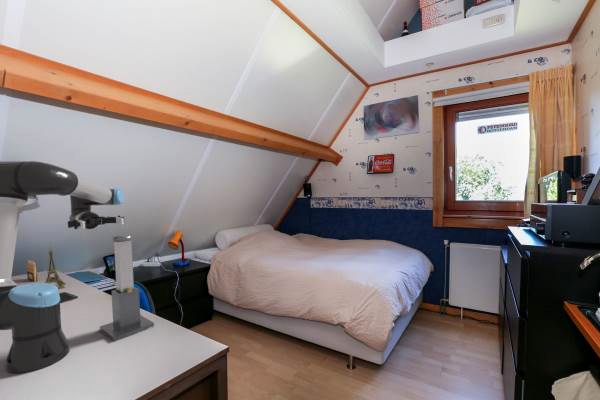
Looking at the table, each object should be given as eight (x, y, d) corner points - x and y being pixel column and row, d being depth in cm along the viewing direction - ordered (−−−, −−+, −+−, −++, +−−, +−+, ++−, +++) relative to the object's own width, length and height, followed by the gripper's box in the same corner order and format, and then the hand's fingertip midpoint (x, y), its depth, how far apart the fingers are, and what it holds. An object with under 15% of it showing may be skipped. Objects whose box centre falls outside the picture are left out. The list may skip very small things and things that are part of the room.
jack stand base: (154, 326, 115) (152, 286, 114) (113, 341, 104) (111, 297, 104) (138, 317, 124) (136, 279, 123) (99, 330, 113) (97, 289, 112)
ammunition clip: (37, 281, 179) (36, 261, 178) (33, 281, 177) (32, 262, 177) (31, 278, 185) (30, 259, 184) (27, 279, 183) (26, 259, 183)
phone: (64, 291, 156) (78, 296, 148) (64, 294, 156) (78, 298, 148) (45, 296, 149) (59, 301, 142) (46, 299, 149) (59, 304, 142)
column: (138, 307, 114) (135, 235, 113) (120, 312, 109) (116, 238, 108) (131, 303, 118) (128, 234, 117) (113, 308, 113) (109, 236, 112)
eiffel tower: (39, 292, 158) (36, 245, 157) (41, 287, 167) (38, 243, 166) (64, 288, 164) (61, 243, 163) (65, 283, 173) (63, 240, 172)
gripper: (119, 225, 143) (137, 228, 129) (52, 232, 124) (66, 236, 110) (118, 209, 143) (136, 211, 129) (51, 214, 124) (64, 216, 110)
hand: (104, 223), depth 120 cm, fingers open, 13 cm apart
